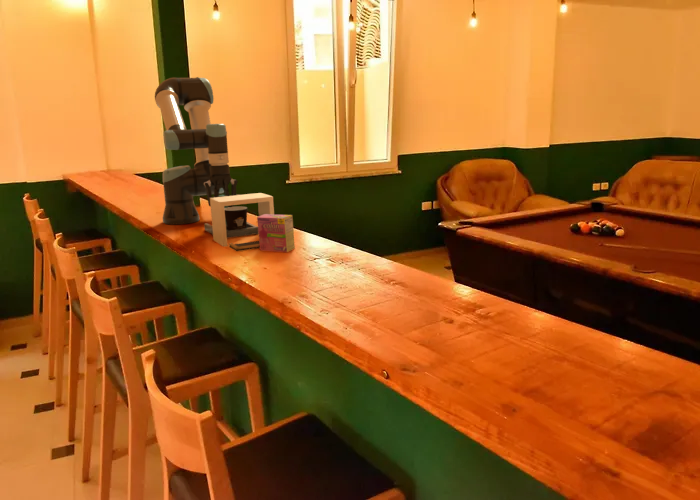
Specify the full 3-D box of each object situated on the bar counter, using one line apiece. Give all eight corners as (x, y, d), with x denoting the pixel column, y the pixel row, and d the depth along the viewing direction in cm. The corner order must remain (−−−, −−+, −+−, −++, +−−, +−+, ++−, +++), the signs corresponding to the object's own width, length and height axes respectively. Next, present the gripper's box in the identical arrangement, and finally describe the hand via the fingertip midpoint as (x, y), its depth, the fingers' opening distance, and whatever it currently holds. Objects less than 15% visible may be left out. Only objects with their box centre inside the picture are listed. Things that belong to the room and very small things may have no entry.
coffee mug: (250, 231, 216) (248, 206, 214) (248, 236, 208) (246, 209, 205) (219, 233, 215) (217, 207, 213) (216, 237, 207) (214, 211, 204)
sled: (204, 229, 221) (201, 197, 218) (241, 225, 228) (239, 193, 225) (219, 238, 204) (216, 203, 201) (258, 233, 211) (256, 199, 208)
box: (259, 251, 187) (256, 216, 184) (268, 247, 192) (265, 213, 189) (287, 253, 183) (284, 218, 180) (295, 249, 188) (292, 214, 185)
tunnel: (213, 240, 203) (209, 197, 199) (263, 233, 212) (261, 192, 208) (223, 246, 193) (219, 202, 189) (275, 239, 202) (273, 196, 198)
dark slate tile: (229, 246, 193) (229, 243, 192) (272, 240, 200) (272, 237, 200) (236, 251, 186) (236, 247, 185) (281, 244, 193) (281, 241, 193)
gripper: (201, 166, 210) (206, 227, 216) (242, 163, 218) (246, 222, 224) (196, 165, 217) (201, 224, 222) (236, 162, 224) (240, 219, 230)
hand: (224, 223), depth 223 cm, fingers closed on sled, 3 cm apart
